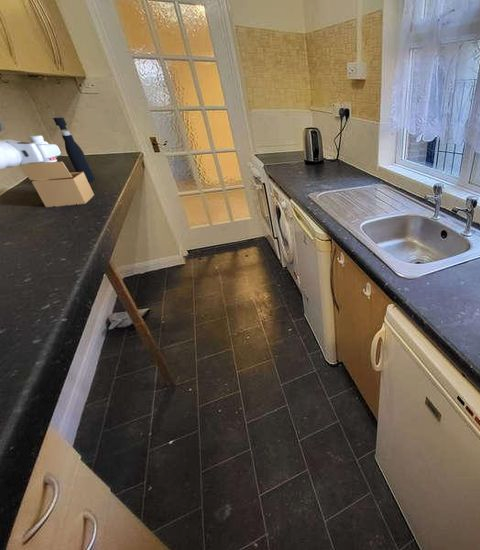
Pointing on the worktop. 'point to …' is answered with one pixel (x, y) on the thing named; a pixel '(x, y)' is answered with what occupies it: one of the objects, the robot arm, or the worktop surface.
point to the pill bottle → (41, 141)
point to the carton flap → (45, 170)
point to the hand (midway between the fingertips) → (43, 147)
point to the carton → (64, 190)
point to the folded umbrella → (74, 151)
